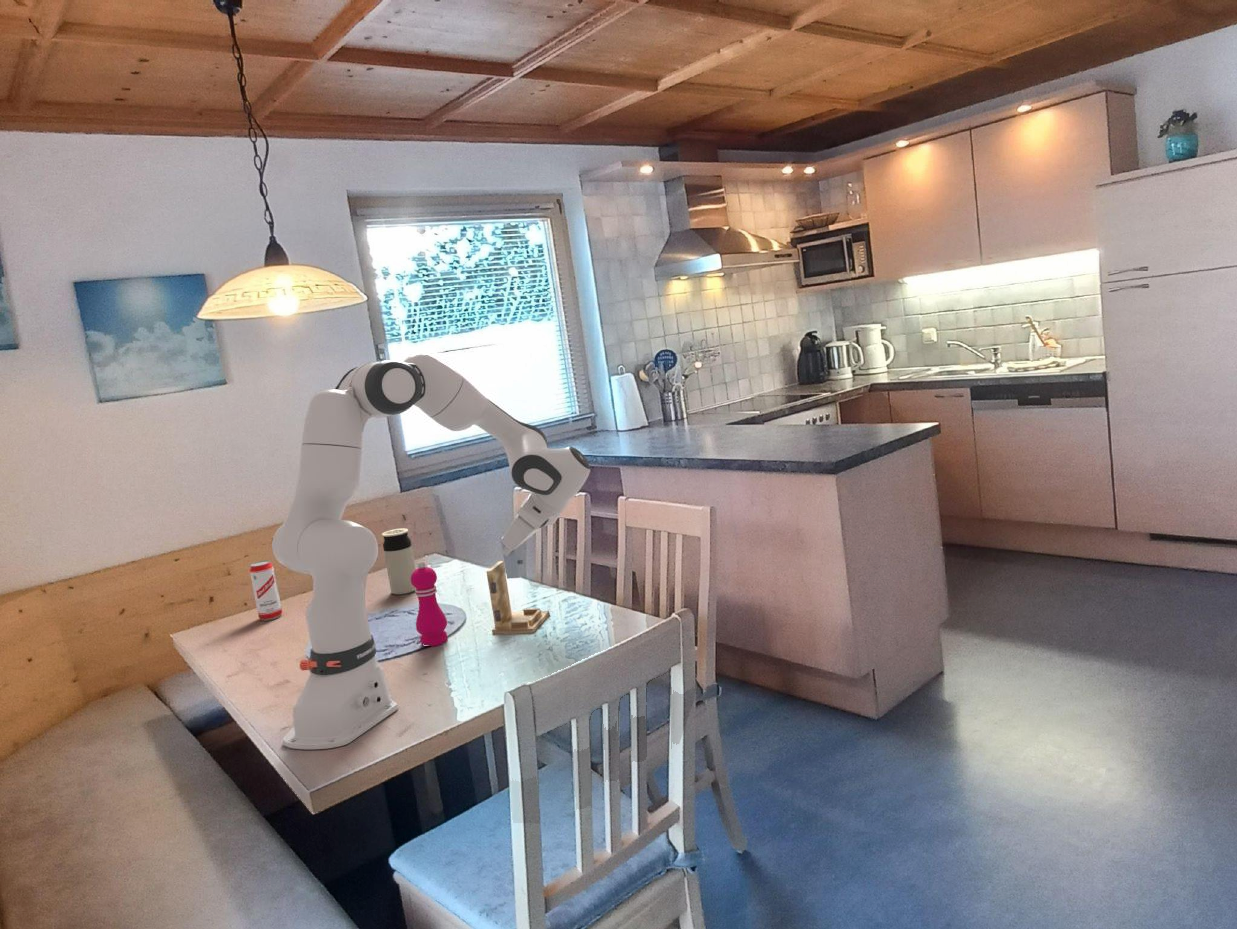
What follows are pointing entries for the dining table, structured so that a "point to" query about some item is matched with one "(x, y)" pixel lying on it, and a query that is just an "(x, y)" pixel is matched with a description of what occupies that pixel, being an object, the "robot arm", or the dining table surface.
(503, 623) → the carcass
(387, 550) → the travel mug
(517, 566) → the grey rectangular block
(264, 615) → the beer can
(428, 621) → the pepper mill
